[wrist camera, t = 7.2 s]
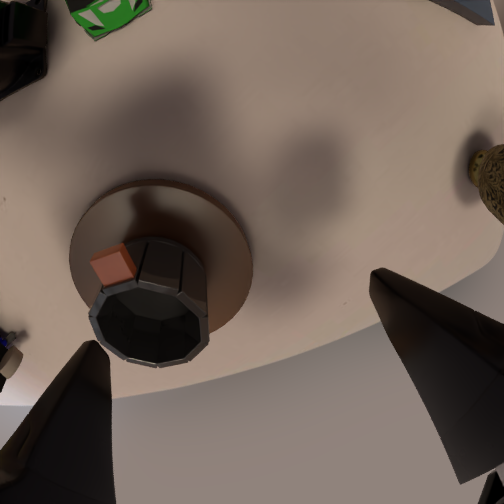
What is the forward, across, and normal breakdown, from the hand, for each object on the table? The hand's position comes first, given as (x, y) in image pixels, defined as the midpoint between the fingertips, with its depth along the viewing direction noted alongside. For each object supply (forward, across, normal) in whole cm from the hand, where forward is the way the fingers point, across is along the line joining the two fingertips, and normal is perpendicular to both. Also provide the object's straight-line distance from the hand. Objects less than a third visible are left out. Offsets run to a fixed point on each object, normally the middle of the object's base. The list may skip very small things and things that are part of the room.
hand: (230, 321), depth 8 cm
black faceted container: (+9, +5, +3) cm, 11 cm away
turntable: (+11, +5, +4) cm, 13 cm away
